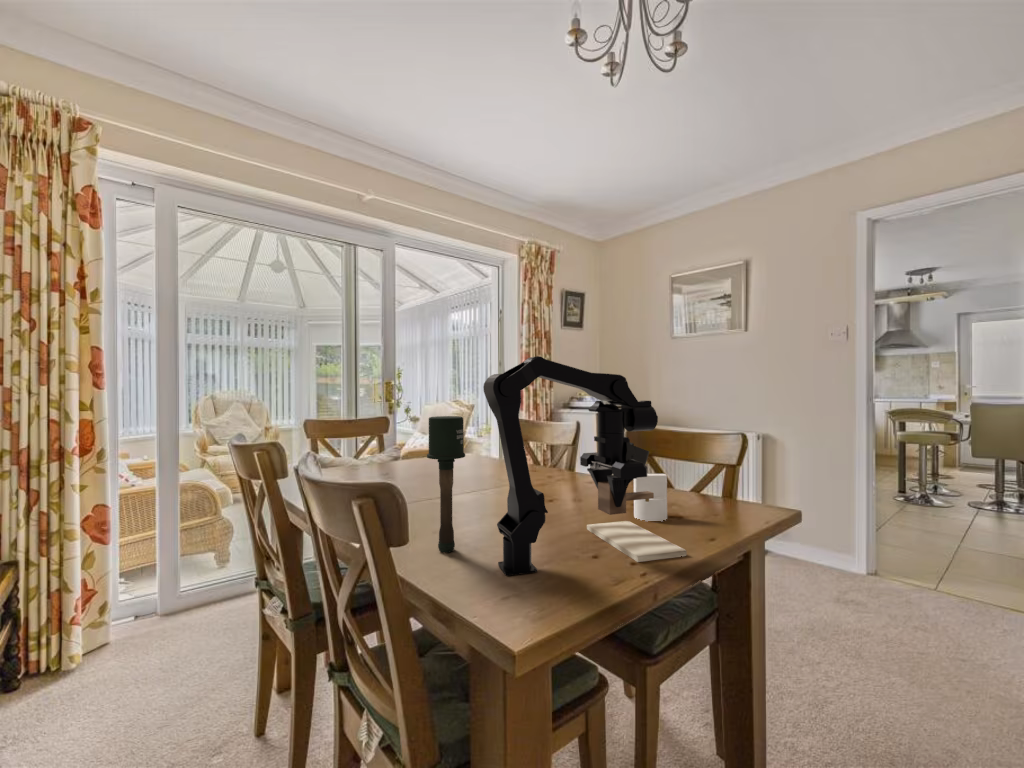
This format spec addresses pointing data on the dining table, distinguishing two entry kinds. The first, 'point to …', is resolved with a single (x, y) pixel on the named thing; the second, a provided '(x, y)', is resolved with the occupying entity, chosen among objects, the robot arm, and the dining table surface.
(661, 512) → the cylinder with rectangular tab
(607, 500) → the marking gauge
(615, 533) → the birch board
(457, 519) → the dining table surface
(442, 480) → the stick grenade
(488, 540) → the dining table surface
